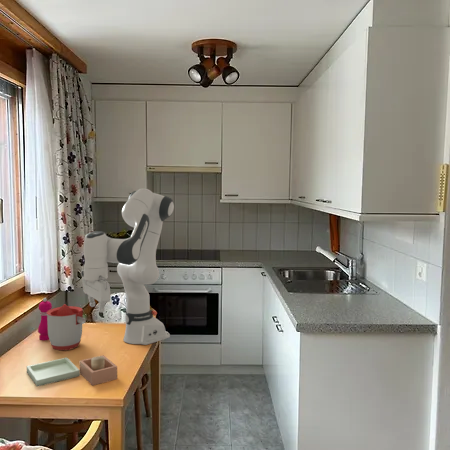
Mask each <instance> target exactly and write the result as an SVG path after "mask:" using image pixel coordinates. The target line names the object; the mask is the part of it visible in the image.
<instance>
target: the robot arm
mask: <svg viewBox="0 0 450 450" xmlns="http://www.w3.org/2000/svg"><path fill="white" fill-rule="evenodd" d="M174 210H175V203H174V200H173V198H171V197H170V196H167V195H165V196H164V195H162V194H160V193H157V192H153V191H152V190H150V189H148V188H145V187H144V188H143V187H142V188H138V189H137V190H134V191H132V192H130V194H129V196H128V199H127V200H126V202H125V203H124V205H123V207H122V209H121V216H122V219H123V220H124V222H125V223H126V224H127V225H128V226H129V227H131V228H133V230H132V233H131V235H130V237H128V238H113V237H110V236H108V235H107V234H106V232H105V231H101V230H100V231H99V230H98V231H97V230H96V231H91V232H88V233H87V234H85V237H84V242H83V257H84V265H83V269H82V270H81V271H80V276H81V277H82V281H81V283H82V290H83V294H85V295H87V298H88V302H89V307H91V308H93V307H95V306H96V301H97V302H98V304H99V305H98V308H97V309H98V312H99V313H104V312H105V307H106V303H109V302H111V299H112V298H111V297H112V296H111V287H110V283H109V281H107V279H108V278H109V272H108V271H109V265H108V263H113V264H117V266H116V272H117V275H118V276H119V277H120V280H121V281H122V285H123V288H124V292H125V293H124V294H125V299H126V300H125V303H126V305H125V306H126V307H125V308H126V309H125V332H124V335H123V341H124V343H127V344H130V345H132V344H133V345H142V346H143V345H146V346H147V345H150V344H154V343H156V342H159V341H160V342H161V341H163V340H166V339H169V338H171V334H170V333H169V332H168V331H166V327H165V325H164V323H163V322H162V321H160V320H159V319H158V318H156V317H154V316H157V314H158V311H156V310H153V309H151V308H150V305H151V304H150V294H149V290H147V288H146V286H147V285H149V286H150V285H153V284H155V283H156V282H157V281H158V280H159V277H160V270H159V267H158V266H157V259H156V256H157V255H156V254H157V248H158V244H159V242H160V237H161V233H162V229H163V222H165V220H167V219H169V218H170V217H171V216H172V214H173V212H174ZM145 285H146V286H145ZM95 300H96V301H95Z"/></svg>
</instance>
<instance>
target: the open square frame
mask: <svg viewBox="0 0 450 450" xmlns="http://www.w3.org/2000/svg"><path fill="white" fill-rule="evenodd" d="M101 356H102V357H104V358H105V368H104V369H100V370H96V371H93V370H92V368H91V359H92V358H93V357H90V358H86V359H85V358H84V359H81V360H79V362H78V363H79V370H80V375H81V376H82V377H83V378H84V379H85V380H86V381H87V382H88V383H89V384H90V386H95V385H96V386H97V385H100V384H103V383H107V382H111V381H115V380H117V379H118V366H117V365H116V363H114V362H113V361H111V360H110V359H109V358H108V357H107V356H105V355H101Z"/></svg>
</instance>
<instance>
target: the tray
mask: <svg viewBox="0 0 450 450" xmlns="http://www.w3.org/2000/svg"><path fill="white" fill-rule="evenodd" d="M26 373H27V375H28V376H29V378H30V379H31V380H32V382H33V383H34V384H35V386H36V387H41V386H45V385H49V384H53V383H57V382H60V381H64V380H65V381H66V380H69V379H72V378H73V379H74V378H77V377H80V375H81V374H80V368H78V367H77V366H76V365H75V364H74V363H73V362H72V361H71V359H69V358H68V357H63V358H59V359H53V360H48V361H43V362H40V363H35V364H31V365H26Z"/></svg>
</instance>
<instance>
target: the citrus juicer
mask: <svg viewBox="0 0 450 450" xmlns="http://www.w3.org/2000/svg"><path fill="white" fill-rule="evenodd" d="M83 310H84V309H83V308H82V307H80V306H71V305H69V306H68V305H67V304H65V303H64V304H63V305H62V306H59V307H54V308H53V307H52V308H51V309H50V310H49V311H47V321H48V336H49V340H48V341H49V342H50V346H51V347H52V349H54V350H56V351H70V350H73V349H75V348H77V347H78V346H79V345H80V343H81V340H82V339H81V338H82V337H83V336H82V335H83V325H84V324H86V321H87V320H86V318H85V317H84V315H83V313H84V312H83Z"/></svg>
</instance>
